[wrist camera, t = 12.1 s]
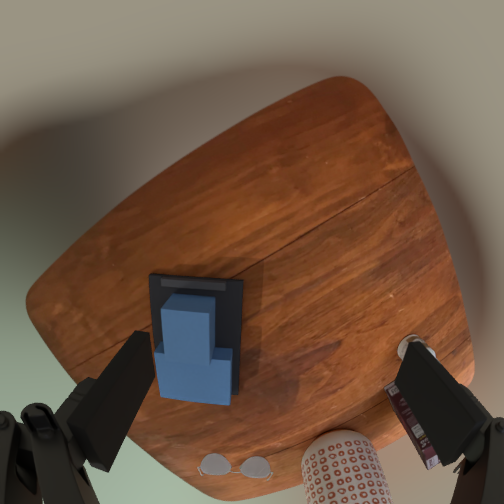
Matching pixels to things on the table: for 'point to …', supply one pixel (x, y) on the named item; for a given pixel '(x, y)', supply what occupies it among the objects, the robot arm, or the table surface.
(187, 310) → the blue block
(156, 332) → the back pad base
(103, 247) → the table surface
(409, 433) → the supplement box
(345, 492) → the white patterned vase
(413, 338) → the pill bottle
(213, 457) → the sunglasses
